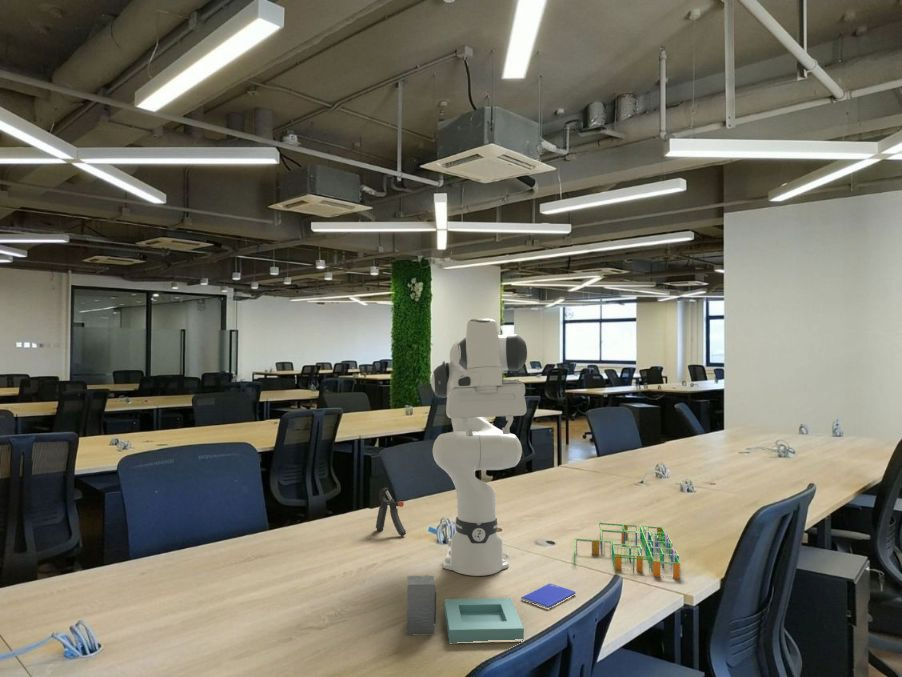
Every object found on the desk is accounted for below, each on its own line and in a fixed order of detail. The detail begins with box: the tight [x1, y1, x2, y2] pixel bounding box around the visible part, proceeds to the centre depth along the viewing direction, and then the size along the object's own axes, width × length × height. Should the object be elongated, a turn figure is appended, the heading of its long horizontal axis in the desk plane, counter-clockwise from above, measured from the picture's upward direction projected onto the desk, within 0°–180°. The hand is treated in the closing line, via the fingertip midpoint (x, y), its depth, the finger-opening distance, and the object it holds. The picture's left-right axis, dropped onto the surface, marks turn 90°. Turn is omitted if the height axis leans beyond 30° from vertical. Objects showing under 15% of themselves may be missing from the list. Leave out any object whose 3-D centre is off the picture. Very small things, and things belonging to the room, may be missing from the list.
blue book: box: [520, 583, 576, 608], centre depth 154 cm, size 2×8×12 cm
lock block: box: [406, 575, 437, 636], centre depth 136 cm, size 5×6×11 cm
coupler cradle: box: [443, 597, 525, 644], centre depth 138 cm, size 16×16×3 cm
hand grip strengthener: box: [375, 487, 407, 537], centre depth 206 cm, size 2×12×15 cm, turn 53°
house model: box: [573, 522, 681, 579], centre depth 189 cm, size 35×30×5 cm
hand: (487, 435), depth 153 cm, fingers open, 8 cm apart
